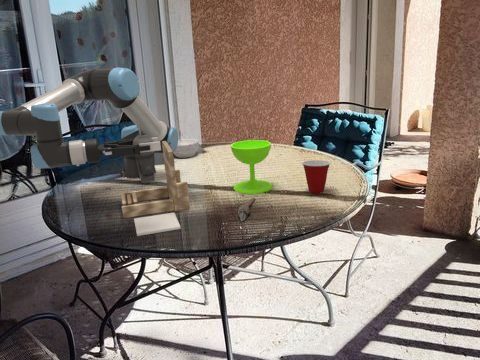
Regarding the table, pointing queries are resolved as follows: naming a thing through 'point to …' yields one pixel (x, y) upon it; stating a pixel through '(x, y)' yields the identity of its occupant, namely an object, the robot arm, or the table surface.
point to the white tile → (156, 224)
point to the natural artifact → (244, 209)
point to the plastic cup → (316, 175)
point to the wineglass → (251, 164)
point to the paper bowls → (186, 148)
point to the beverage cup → (145, 159)
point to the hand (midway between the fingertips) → (159, 143)
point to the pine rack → (161, 192)
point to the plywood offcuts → (129, 199)
